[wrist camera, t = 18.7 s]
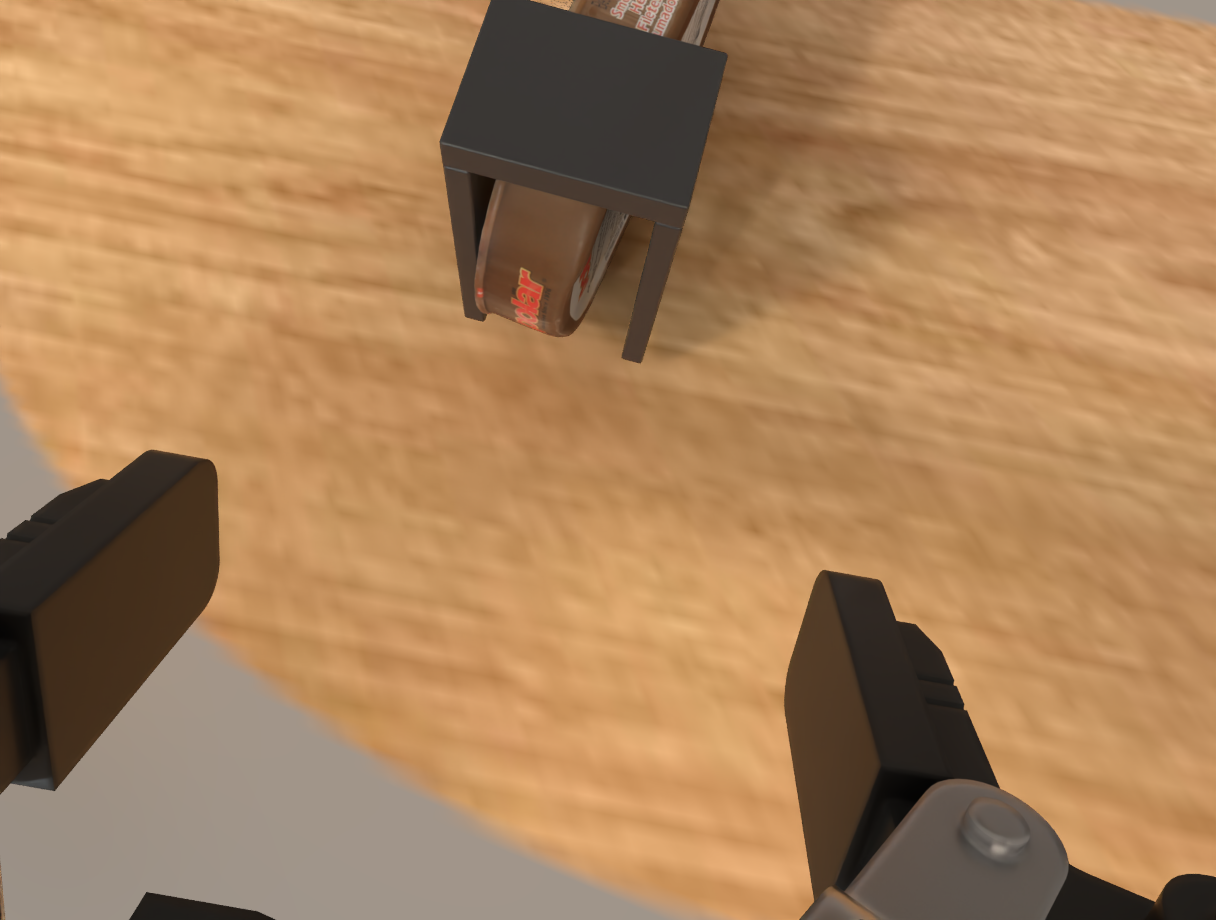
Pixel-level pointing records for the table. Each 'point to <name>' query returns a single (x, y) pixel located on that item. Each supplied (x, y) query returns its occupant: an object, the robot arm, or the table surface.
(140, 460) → the robot arm
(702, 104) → the dark grey stool
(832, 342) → the table surface
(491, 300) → the tin
